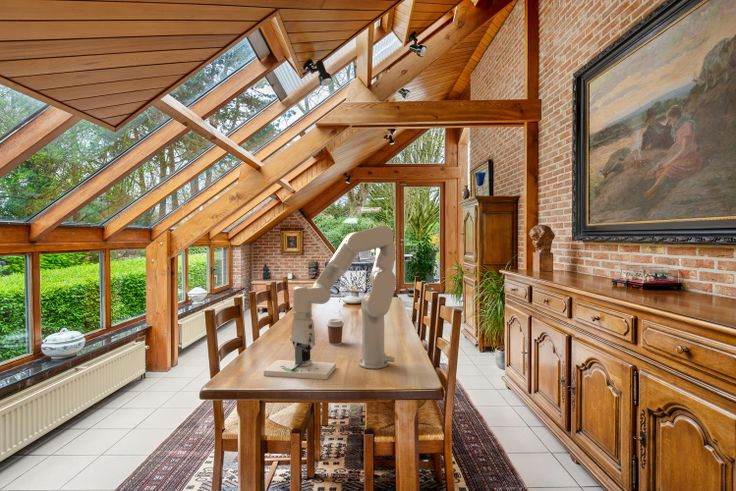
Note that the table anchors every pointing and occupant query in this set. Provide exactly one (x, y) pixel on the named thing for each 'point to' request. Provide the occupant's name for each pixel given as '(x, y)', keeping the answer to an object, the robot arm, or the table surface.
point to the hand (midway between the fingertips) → (302, 358)
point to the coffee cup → (335, 331)
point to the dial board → (300, 370)
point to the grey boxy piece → (300, 357)
